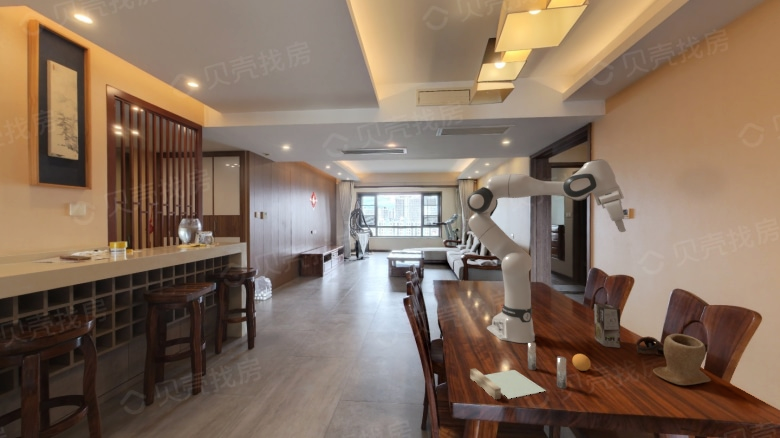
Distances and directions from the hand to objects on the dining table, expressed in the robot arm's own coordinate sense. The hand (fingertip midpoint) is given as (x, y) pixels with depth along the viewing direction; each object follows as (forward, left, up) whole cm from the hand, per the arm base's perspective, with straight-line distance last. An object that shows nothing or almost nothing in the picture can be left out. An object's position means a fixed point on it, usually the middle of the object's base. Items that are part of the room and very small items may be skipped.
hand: (622, 231), depth 117 cm
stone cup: (+18, +2, -49) cm, 53 cm away
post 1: (-4, -40, -49) cm, 63 cm away
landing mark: (+2, -54, -49) cm, 73 cm away
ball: (+2, -24, -46) cm, 52 cm away
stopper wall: (+1, -64, -49) cm, 80 cm away
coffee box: (-13, +9, -49) cm, 52 cm away
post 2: (+8, -40, -49) cm, 64 cm away
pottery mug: (+1, +14, -49) cm, 52 cm away
